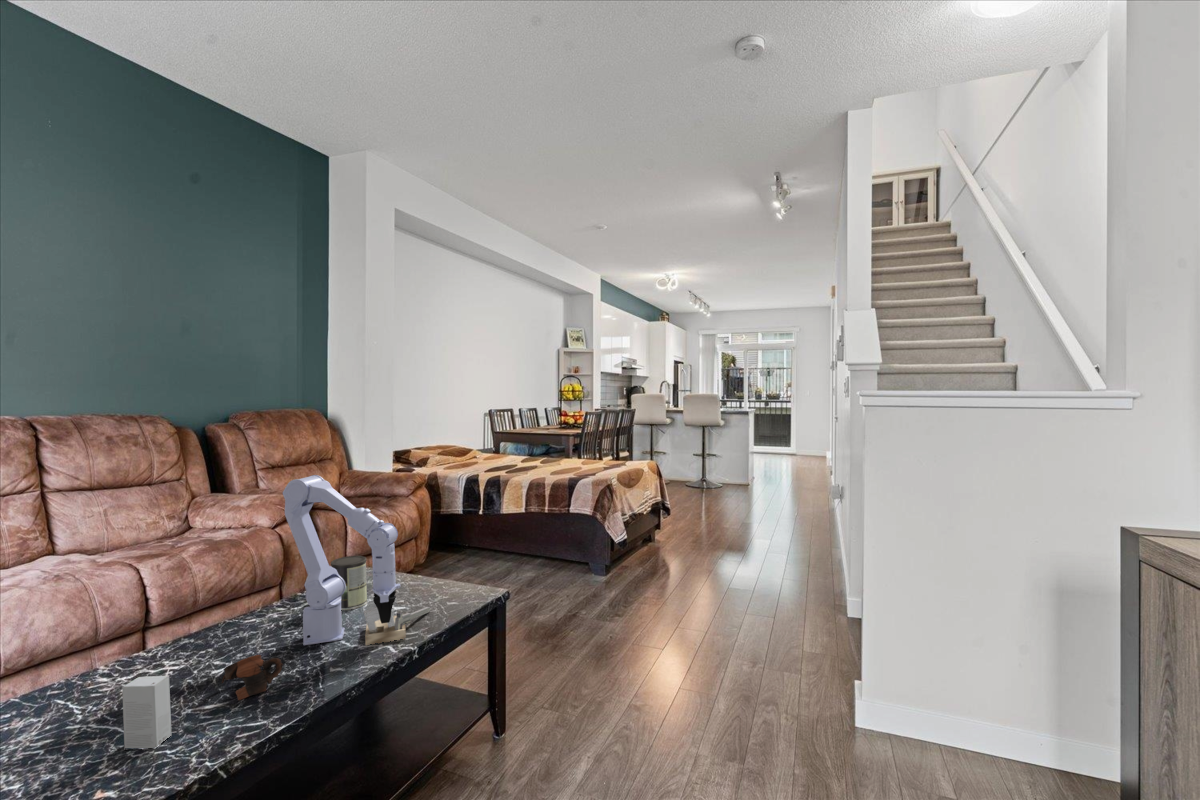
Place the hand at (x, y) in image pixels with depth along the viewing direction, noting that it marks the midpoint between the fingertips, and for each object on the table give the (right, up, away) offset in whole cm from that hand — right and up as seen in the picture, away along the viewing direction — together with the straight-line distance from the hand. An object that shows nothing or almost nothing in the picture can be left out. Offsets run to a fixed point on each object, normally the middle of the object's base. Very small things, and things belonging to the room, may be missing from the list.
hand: (385, 620), depth 156 cm
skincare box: (-28, -6, -46) cm, 54 cm away
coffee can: (-21, -5, +26) cm, 34 cm away
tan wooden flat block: (-1, -5, +3) cm, 6 cm away
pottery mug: (-20, -6, -26) cm, 33 cm away
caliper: (+5, -5, +9) cm, 11 cm away
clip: (-1, -2, 0) cm, 2 cm away
